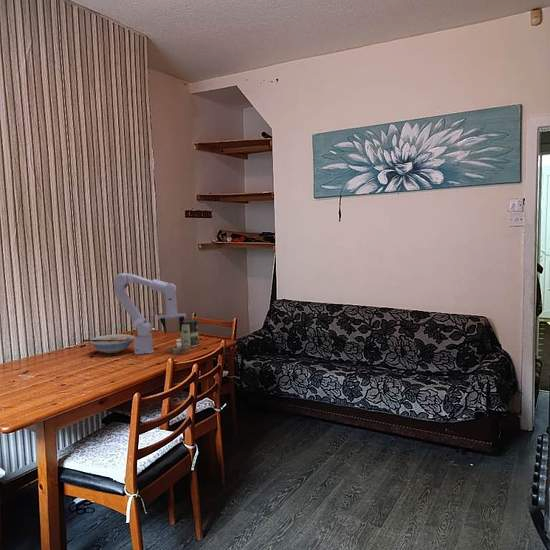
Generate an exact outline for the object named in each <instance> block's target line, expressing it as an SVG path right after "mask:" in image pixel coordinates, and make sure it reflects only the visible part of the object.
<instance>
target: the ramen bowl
mask: <svg viewBox="0 0 550 550" xmlns="http://www.w3.org/2000/svg"><path fill="white" fill-rule="evenodd" d="M134 337H135V336H134V335H131V334H124V333H123V334H119V333H118V334H107V335H105V334H104V335H100V336H96V337H94V338H93V337H92V338H91V339H82V340H81V341H82V342H84V343H85V342H86V343H87V342H90V344H91V345H92V347H93V348H94V349H95V350H96V351H98V352H100V353H105V354H107V353H108V354H109V355H111V353H114V354H117V353H120V352H121V351H124V350H126V349H127V348H129V346H131V344H132V342H134Z"/></svg>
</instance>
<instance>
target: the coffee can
mask: <svg viewBox="0 0 550 550" xmlns="http://www.w3.org/2000/svg"><path fill="white" fill-rule="evenodd" d="M198 322H199V320H198V319H195V318H188V319H185V318H184V321H183V324H182V327H181V332H180V331H179V335H180V336H179V339H181V345H185V346H187V347H189V348H195V347H198V346H200V341H199V340H200V336H199V324H198Z"/></svg>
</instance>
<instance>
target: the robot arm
mask: <svg viewBox="0 0 550 550" xmlns="http://www.w3.org/2000/svg"><path fill="white" fill-rule="evenodd" d="M134 283H136V284H140V285H143V286H147V287H149V288H150V290H153V291H155V292H159V293H162V294H164V295H165V298H164V299H165V312H166V313H165V314H161V315H160V314H159V315H157V320H158V321H160V322H161V325H162V327H163V330H164V333H165V334H167V327H166V320H169V319H178V323H179V327H178V328H179V329H178V330H179V333H180V332H181V327H182V324H183V321H184V320H185V318H187V314H186V313H184V312H183V313H178V302H177V294H176V292H177V286H176V285H175V284H174V283H172V282H170V283H169V282H168V281H166V282H165V281H164V280H163V281H162V280H160V278H156V279H155V278H153V279H152V280H151V279H148V278H145V277H142V276H139V275H137V274H133V273H127V272H122V273H118V274H116V276H115V277H114V280H113V283H112V284H113V287H114V295H115V297H116V298H117V300H118V301H119V302H120V304H121V306H122V307H123V308H124V310H125V311H126V313H127V314H128V315H129V317H130V319H131V320H132V321H133V324H134V326H135V329H136V333H137V336H134V339H133V343H134V344H133V345H134V346H133V350H134V355H142V354H143V355H144V353H145V354H153V353H154V348H153V335H152V330H153V325H152V323H151V322H150V321H148V320H147V319H146V318H145V317H144V316H143V315H142V314H141V312H140V310H138V308H137V307H136V305H135V304H134V302H133V301H132V299H131V298H130V296H129V295H128V293H127V288H128V285H129V284H134Z"/></svg>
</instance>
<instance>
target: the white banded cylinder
mask: <svg viewBox="0 0 550 550" xmlns="http://www.w3.org/2000/svg"><path fill="white" fill-rule="evenodd" d="M175 340H176V346H177V348H181V339H180V338H179V339H175Z"/></svg>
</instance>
